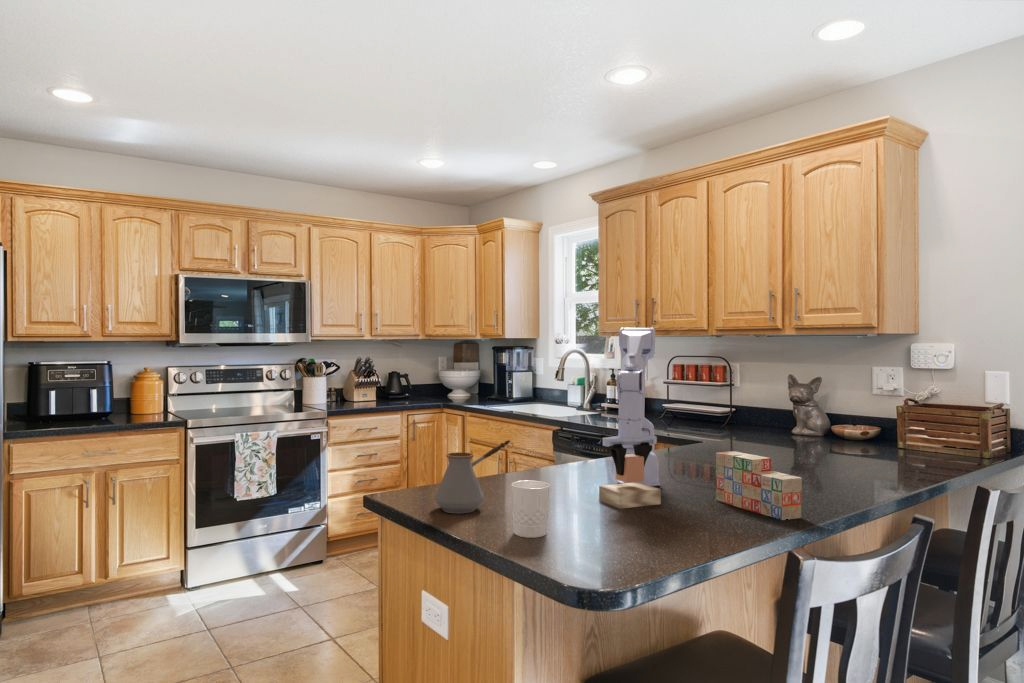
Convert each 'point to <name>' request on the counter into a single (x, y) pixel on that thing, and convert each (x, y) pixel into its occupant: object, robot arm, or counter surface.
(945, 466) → the counter surface
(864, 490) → the counter surface
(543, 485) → the white cup
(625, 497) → the birch block
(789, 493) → the stack of blocks
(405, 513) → the counter surface
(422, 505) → the counter surface
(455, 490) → the coffee pot
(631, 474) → the terracotta block
